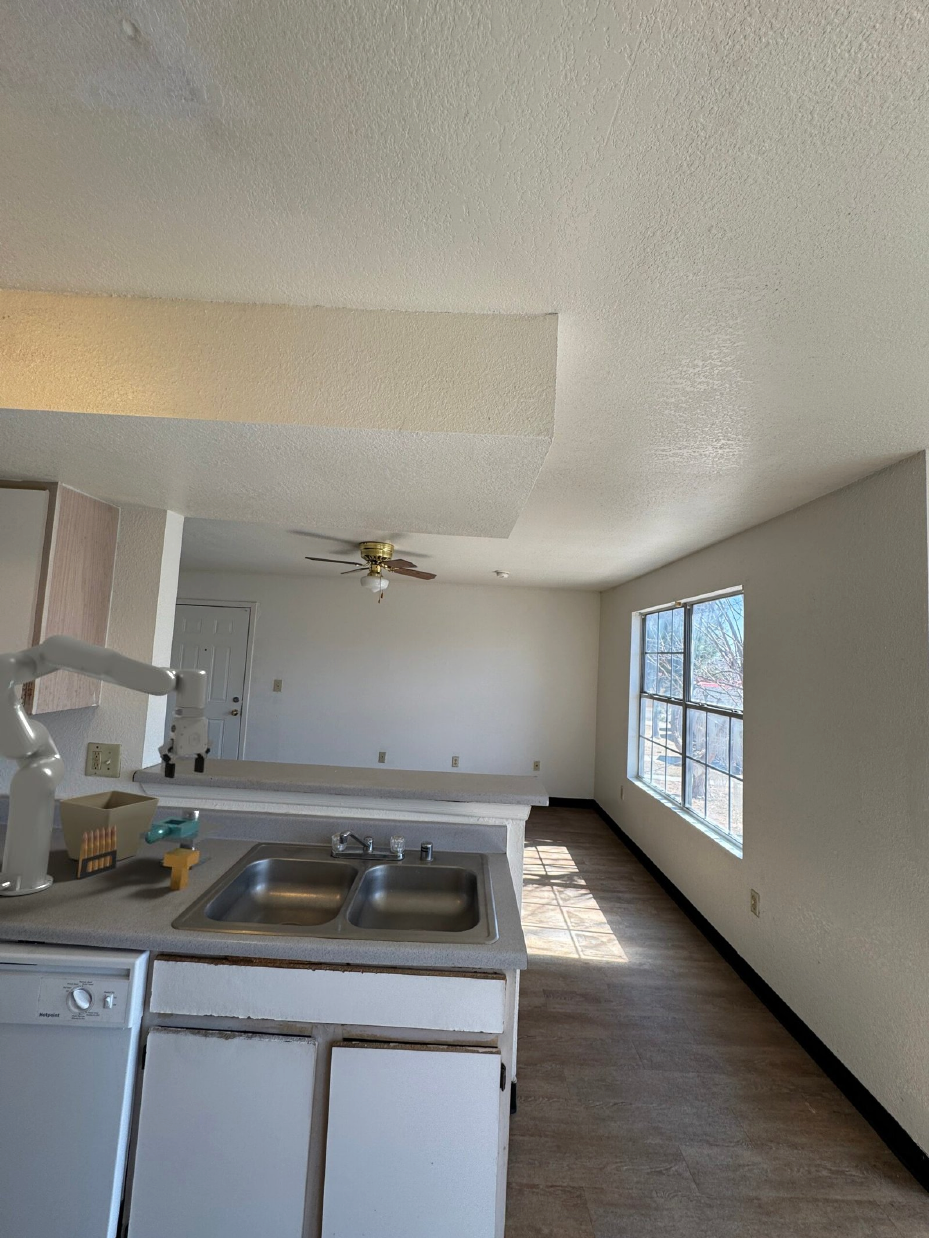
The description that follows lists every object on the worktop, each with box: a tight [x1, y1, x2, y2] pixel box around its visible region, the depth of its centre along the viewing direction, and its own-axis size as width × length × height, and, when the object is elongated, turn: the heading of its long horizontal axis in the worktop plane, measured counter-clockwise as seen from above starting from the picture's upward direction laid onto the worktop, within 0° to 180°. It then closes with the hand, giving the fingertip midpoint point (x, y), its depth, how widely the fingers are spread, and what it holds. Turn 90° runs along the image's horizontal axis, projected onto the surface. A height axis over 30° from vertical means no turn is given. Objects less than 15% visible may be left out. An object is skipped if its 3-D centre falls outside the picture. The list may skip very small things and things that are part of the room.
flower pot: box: [59, 789, 160, 862], centre depth 180 cm, size 19×19×17 cm
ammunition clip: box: [75, 825, 117, 880], centre depth 168 cm, size 11×2×12 cm, turn 159°
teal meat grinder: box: [139, 807, 226, 870], centre depth 175 cm, size 25×16×15 cm, turn 173°
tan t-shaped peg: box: [162, 847, 200, 891], centre depth 162 cm, size 6×6×9 cm
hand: (184, 774), depth 170 cm, fingers open, 9 cm apart
